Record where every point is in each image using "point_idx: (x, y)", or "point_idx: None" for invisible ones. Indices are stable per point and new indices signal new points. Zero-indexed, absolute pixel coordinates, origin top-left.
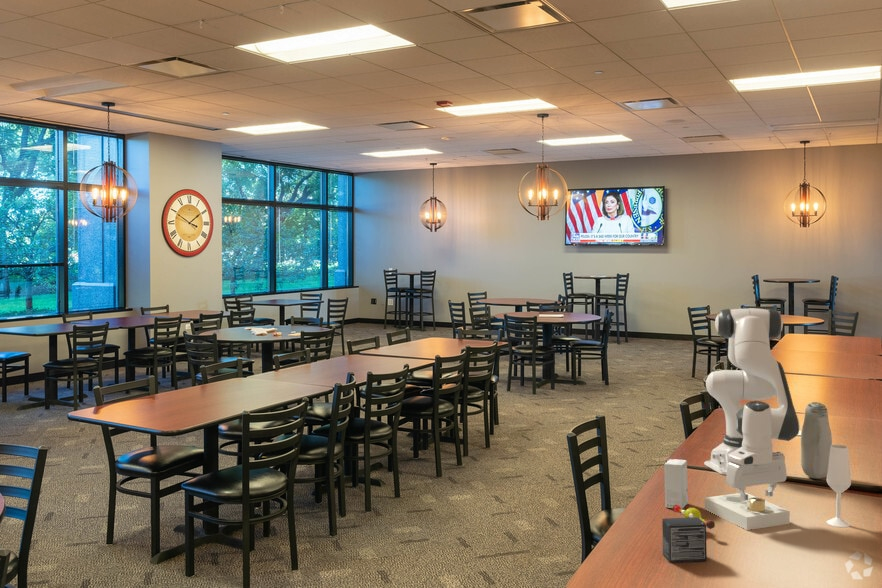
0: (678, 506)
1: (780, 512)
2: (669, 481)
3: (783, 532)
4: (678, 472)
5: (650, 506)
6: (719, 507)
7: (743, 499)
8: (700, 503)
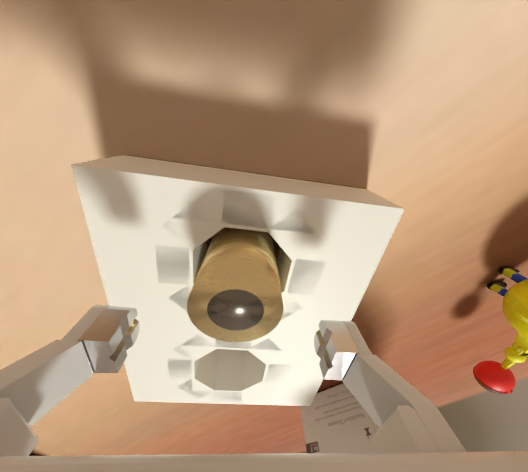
0: (512, 382)
1: (153, 175)
2: None
3: (244, 72)
4: None
5: None
6: None
7: (354, 329)
8: None
